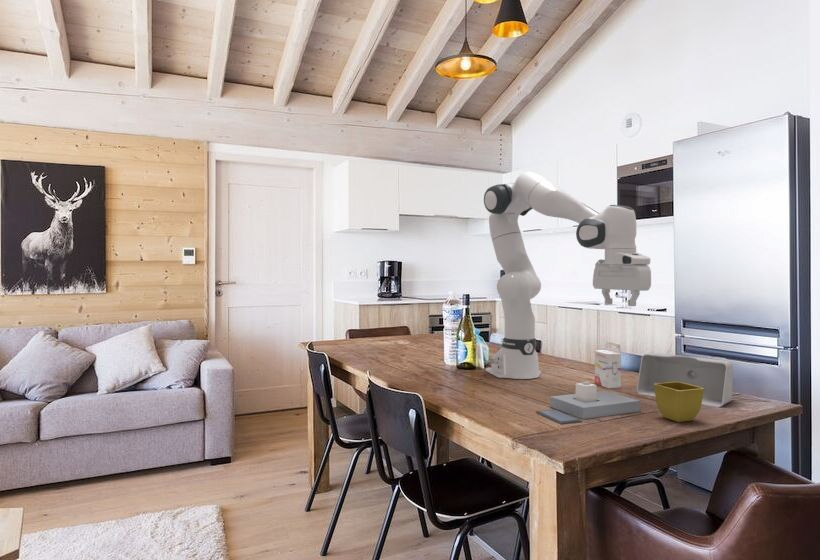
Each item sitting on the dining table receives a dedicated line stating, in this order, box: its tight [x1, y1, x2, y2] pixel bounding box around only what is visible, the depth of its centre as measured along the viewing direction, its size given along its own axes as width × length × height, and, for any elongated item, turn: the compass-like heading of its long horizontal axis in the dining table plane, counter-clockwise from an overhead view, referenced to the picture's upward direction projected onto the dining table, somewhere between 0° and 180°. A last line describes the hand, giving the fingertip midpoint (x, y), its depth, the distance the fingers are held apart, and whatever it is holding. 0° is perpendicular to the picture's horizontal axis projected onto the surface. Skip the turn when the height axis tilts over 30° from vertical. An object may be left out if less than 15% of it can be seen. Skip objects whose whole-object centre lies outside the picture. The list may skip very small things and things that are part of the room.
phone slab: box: [535, 408, 583, 425], centre depth 145 cm, size 12×6×1 cm, turn 19°
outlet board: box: [549, 390, 641, 420], centre depth 154 cm, size 14×20×3 cm
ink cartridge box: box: [594, 341, 622, 389], centre depth 185 cm, size 9×5×15 cm, turn 14°
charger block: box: [575, 381, 598, 403], centre depth 153 cm, size 4×4×8 cm
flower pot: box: [654, 382, 704, 423], centre depth 143 cm, size 9×9×9 cm
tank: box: [636, 352, 734, 408], centre depth 170 cm, size 25×16×12 cm, turn 44°
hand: (619, 305), depth 162 cm, fingers open, 8 cm apart
